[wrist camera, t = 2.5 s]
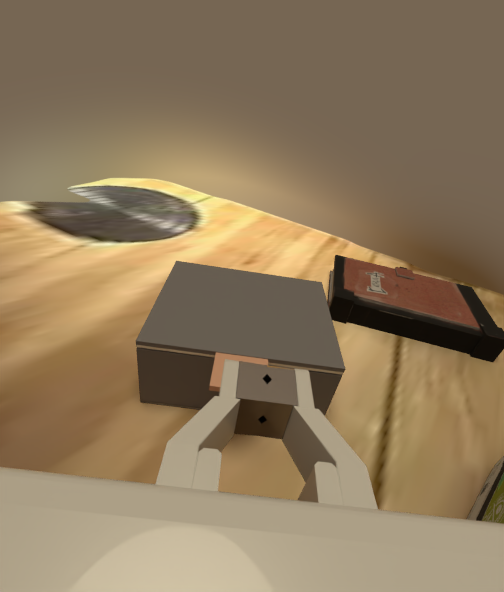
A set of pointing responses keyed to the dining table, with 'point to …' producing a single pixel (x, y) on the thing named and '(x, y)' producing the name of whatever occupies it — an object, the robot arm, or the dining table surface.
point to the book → (413, 307)
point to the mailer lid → (243, 320)
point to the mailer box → (202, 380)
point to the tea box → (491, 497)
